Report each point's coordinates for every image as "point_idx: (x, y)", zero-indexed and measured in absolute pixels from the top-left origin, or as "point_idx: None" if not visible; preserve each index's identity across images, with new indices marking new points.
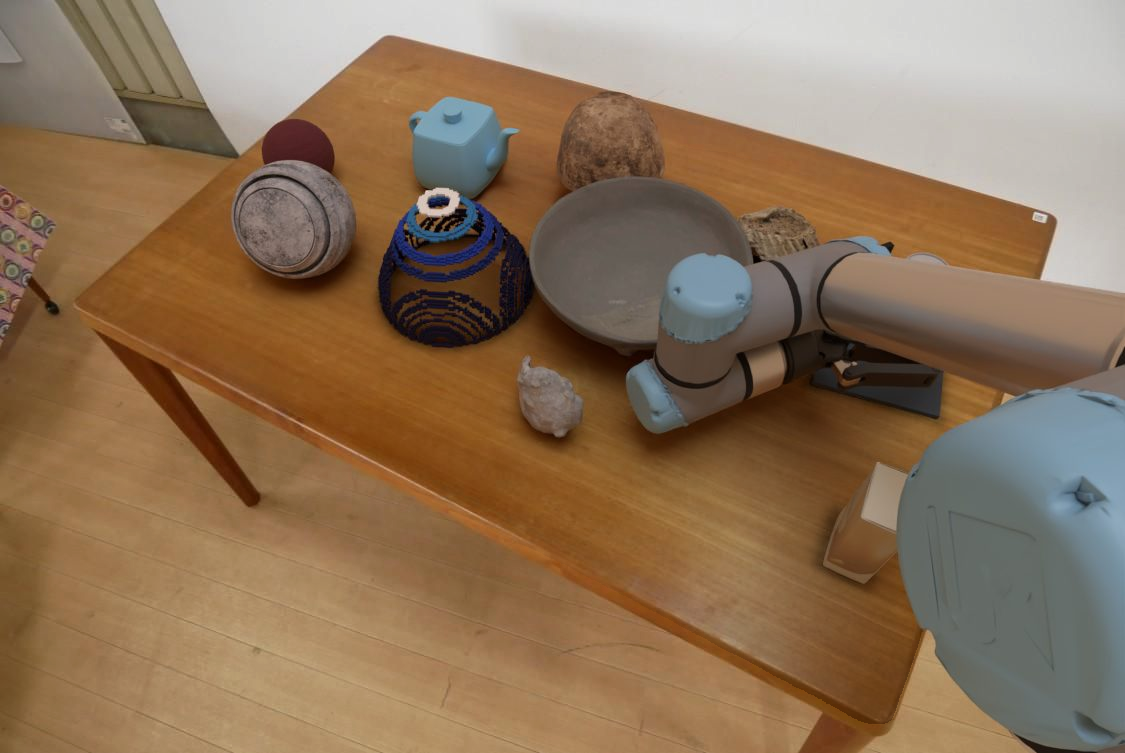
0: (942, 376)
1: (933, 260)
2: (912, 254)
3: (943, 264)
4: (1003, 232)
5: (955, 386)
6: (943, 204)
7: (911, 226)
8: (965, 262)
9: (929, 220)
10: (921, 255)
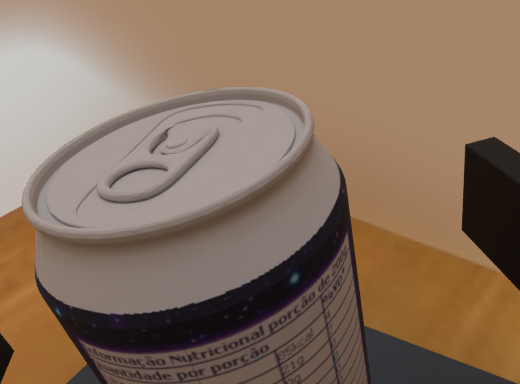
0: (471, 367)
1: (136, 129)
2: (32, 179)
3: (180, 108)
4: None
5: (494, 347)
6: (22, 220)
7: (13, 274)
8: None
9: (29, 245)
10: (73, 157)
